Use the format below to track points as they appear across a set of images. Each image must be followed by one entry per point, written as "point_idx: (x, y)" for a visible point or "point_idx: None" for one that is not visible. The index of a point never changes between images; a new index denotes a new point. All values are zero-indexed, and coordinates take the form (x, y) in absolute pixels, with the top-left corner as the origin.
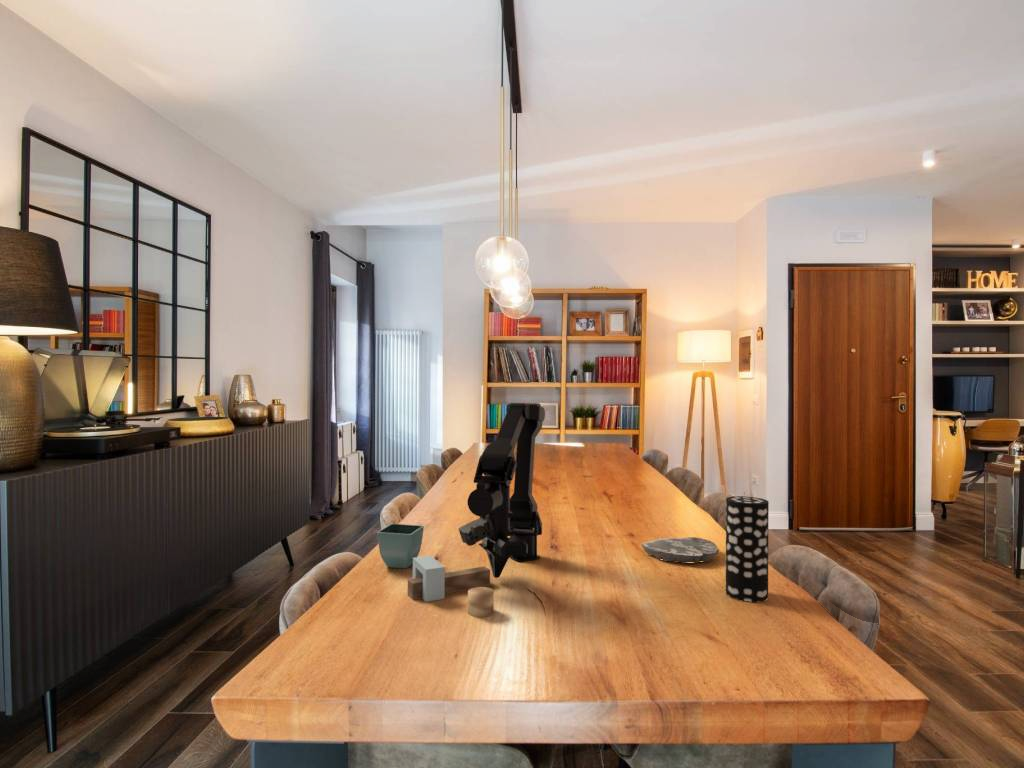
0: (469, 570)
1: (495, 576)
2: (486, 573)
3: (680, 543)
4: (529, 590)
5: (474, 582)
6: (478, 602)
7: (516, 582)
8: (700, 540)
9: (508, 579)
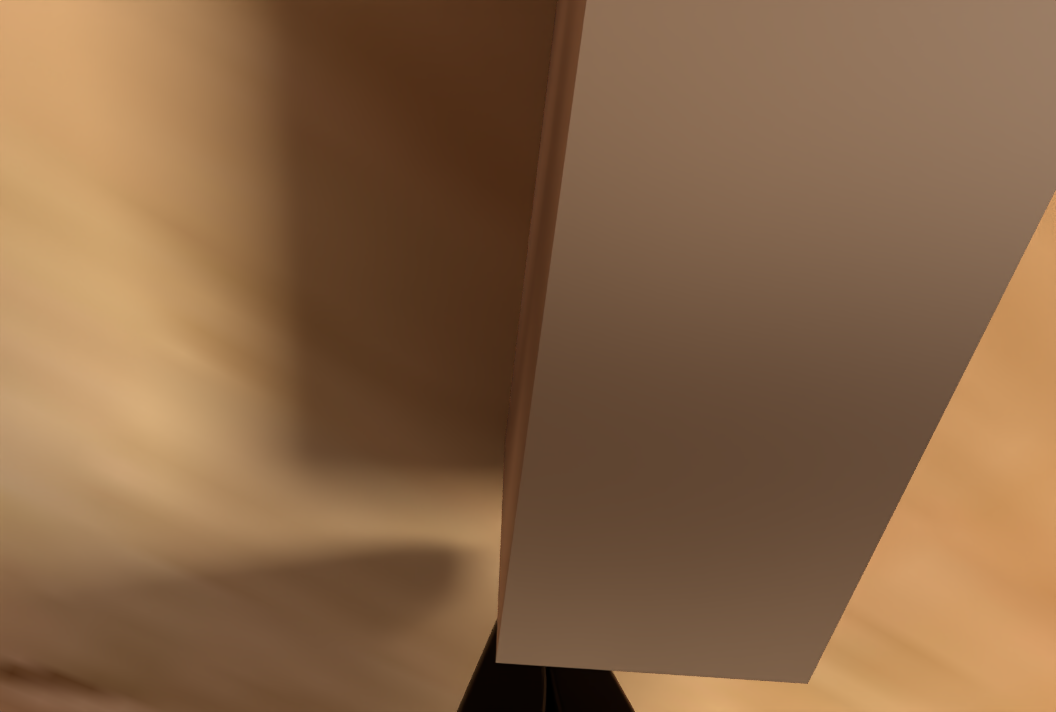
0: (865, 205)
1: None
2: (509, 530)
3: None
4: (42, 677)
5: (545, 165)
6: None
7: (382, 704)
8: None
9: None
